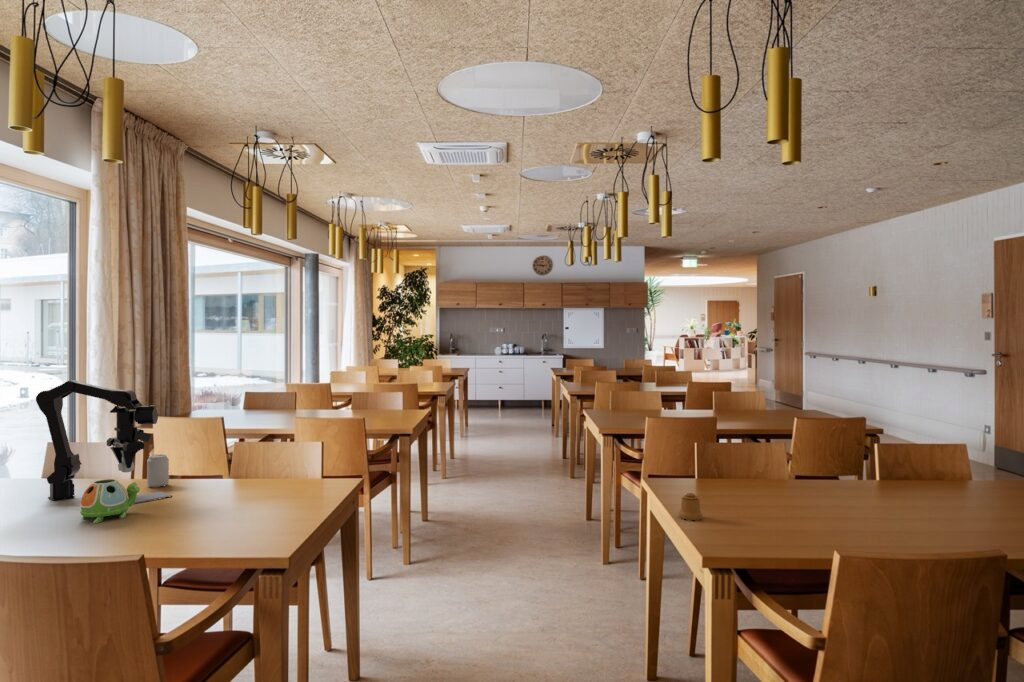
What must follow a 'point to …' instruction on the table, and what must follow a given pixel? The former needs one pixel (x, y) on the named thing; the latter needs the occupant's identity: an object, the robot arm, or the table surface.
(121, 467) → the off-white lumpy chunk
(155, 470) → the can
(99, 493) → the turtle holder
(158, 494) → the grey mat
